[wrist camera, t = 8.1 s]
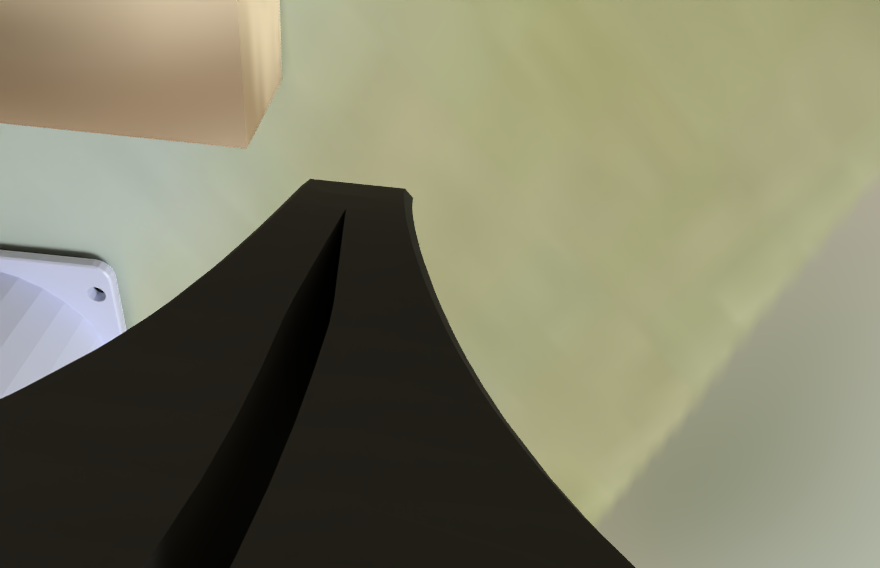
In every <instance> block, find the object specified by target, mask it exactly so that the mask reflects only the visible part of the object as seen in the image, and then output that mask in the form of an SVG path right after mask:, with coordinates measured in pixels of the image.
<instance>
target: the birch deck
mask: <svg viewBox="0 0 880 568" xmlns="http://www.w3.org/2000/svg"><path fill="white" fill-rule="evenodd" d="M281 81H282V56H281V27H280V0H0V123H4V124H14V125H24V126H33V127H43V128H53V129H62V130H72V131H82V132H91V133H101V134H111V135H120V136H130V137H140V138H149V139H159V140H169V141H178V142H188V143H198V144H207V145H217V146H227V147H236V148H246V149H247V147H248V145H249V143H250V141H251V139H252V137H253V136H254V134H255V132H256V130H257V128H258V126H259V124H260V122H261V120H262V118H263V116H264V114H265V112H266V110H267V108H268V106H269V104H270V102H271V100H272V98H273V96H274V95H275V93H276V91H277V89H278V87H279V85H280V83H281Z"/></svg>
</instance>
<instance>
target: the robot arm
mask: <svg viewBox="0 0 880 568" xmlns="http://www.w3.org/2000/svg"><path fill="white" fill-rule="evenodd" d="M412 201H413V198H412V196H411V195H410V194H409V193H408V192H407V191H406V189H402V188H392V187H382V186H373V185H363V184H353V183H343V182H334V181H324V180H314V179H310V180H308V181H307V182H306V183H305V184H303V185H302V186H301V187H300V188H299V189H298V190H297V191H296V192H295V193H294V194H293V195H292V196H291V197H290V198H289V199H288V200H287V201H286V202H285V203H284V204H283V205H282V206H281V207H280V208H279V209H278V210H277V211H276V212H274V213H273V214H272V215H271V216H270V217H269V218H268V219H267V220H266V221H265V222H264V223H263V224H262V225H261V226H260V227H259V228H258V229H257V230H256V231H254V232H253V233H252V234H251V235H250V236H249V237H248V238H247V239H245V240H244V241H243V242H242V243H241V244H240V245H239V246H238V247H237V248H235V249H234V250H233V251H232V252H231V253H230V254H229V255H228V256H226V257H225V258H224V259H223V260H222V261H221V262H219V263H218V264H217V265H216V266H215V267H213V268H212V269H211V270H210V271H208V272H207V273H206V274H205V275H203V276H202V277H201V278H199V279H198V280H197V281H196V282H194V283H193V284H192V285H191V286H189V287H188V288H187V289H185V290H184V291H183V292H182V293H180V294H179V295H178V296H177V297H175V298H174V299H173V300H171V301H170V302H169V303H167V304H166V305H164V306H163V307H162V308H160V309H159V310H157V311H156V312H154V313H153V314H152V315H150V316H149V317H147V318H146V319H144V320H143V321H141V322H139V323H138V324H136V325H135V326H133V327H131V328H130V329H128V330H126V325H125V320H124V314H123V309H122V304H121V299H120V294H119V289H118V284H117V279H116V275H115V272H114V270H113V269H112V268H111V267H110V266H109V265H108V264H106V263H105V262H103V261H100V260H96V259H87V258H77V257H67V256H57V255H48V254H38V253H28V252H18V251H8V250H0V568H635V567H634V566H633V565H632V564H631V563H630V562H629V561H628V560H627V559H626V558H625V557H624V556H623V555H622V554H621V553H620V552H619V551H618V550H617V549H616V548H615V547H614V546H613V545H612V544H611V543H610V542H609V541H608V540H606V539H605V538H604V537H603V536H602V535H601V534H600V533H599V532H598V530H597V529H596V528H595V527H594V526H593V525H592V524H591V523H590V522H589V521H588V520H587V519H586V518H585V517H584V516H583V515H582V514H581V512H580V511H579V510H578V509H577V508H576V507H575V506H574V504H573V503H572V502H571V501H570V500H569V499H568V498H567V497H566V495H565V494H564V493H563V492H562V491H561V490H560V489H559V487H558V486H557V485H556V484H555V483H554V482H553V481H552V480H551V478H550V477H549V476H548V475H547V473H546V472H545V471H544V469H543V468H542V467H541V466H540V464H539V463H538V462H537V460H536V459H535V458H534V456H533V455H532V454H531V453H530V451H529V450H528V449H527V447H526V446H525V445H524V443H523V442H522V441H521V440H520V438H519V437H518V436H517V434H516V433H515V432H514V431H513V429H512V428H511V427H510V425H509V424H508V423H507V421H506V420H505V419H504V417H503V416H502V414H501V413H500V411H499V410H498V408H497V407H496V405H495V404H494V402H493V401H492V399H491V397H490V396H489V394H488V393H487V391H486V390H485V388H484V387H483V385H482V383H481V382H480V380H479V378H478V377H477V375H476V373H475V372H474V370H473V368H472V367H471V365H470V363H469V362H468V360H467V358H466V356H465V354H464V352H463V351H462V349H461V347H460V345H459V343H458V341H457V339H456V337H455V335H454V333H453V331H452V329H451V327H450V325H449V323H448V320H447V318H446V316H445V314H444V312H443V310H442V308H441V305H440V303H439V300H438V298H437V296H436V293H435V291H434V288H433V285H432V283H431V280H430V277H429V274H428V271H427V269H426V266H425V263H424V260H423V257H422V254H421V251H420V247H419V243H418V239H417V235H416V231H415V227H414V221H413V214H412ZM94 287H96V288H100V289H101V290H102V291H104V293H101V292H98V291H97V290H96V289H94Z"/></svg>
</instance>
